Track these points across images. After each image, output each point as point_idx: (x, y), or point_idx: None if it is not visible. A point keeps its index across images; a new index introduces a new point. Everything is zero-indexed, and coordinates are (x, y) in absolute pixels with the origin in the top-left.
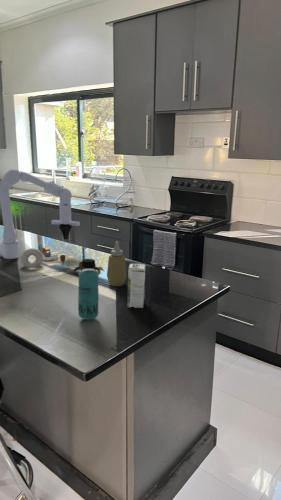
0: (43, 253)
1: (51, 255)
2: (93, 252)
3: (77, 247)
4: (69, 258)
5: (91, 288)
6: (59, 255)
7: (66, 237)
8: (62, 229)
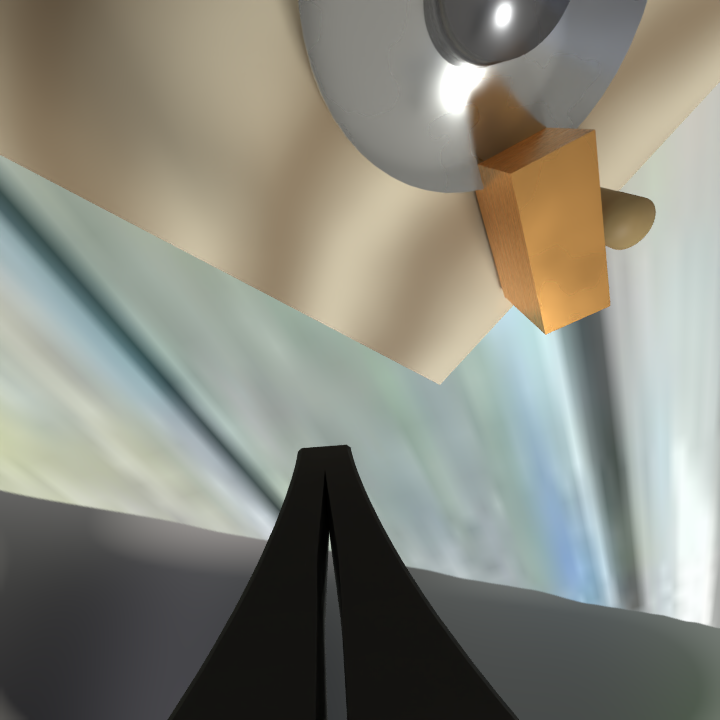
0: None
1: (430, 73)
2: (176, 498)
3: None
4: (159, 141)
5: None
6: (366, 250)
7: (292, 479)
8: (394, 682)
